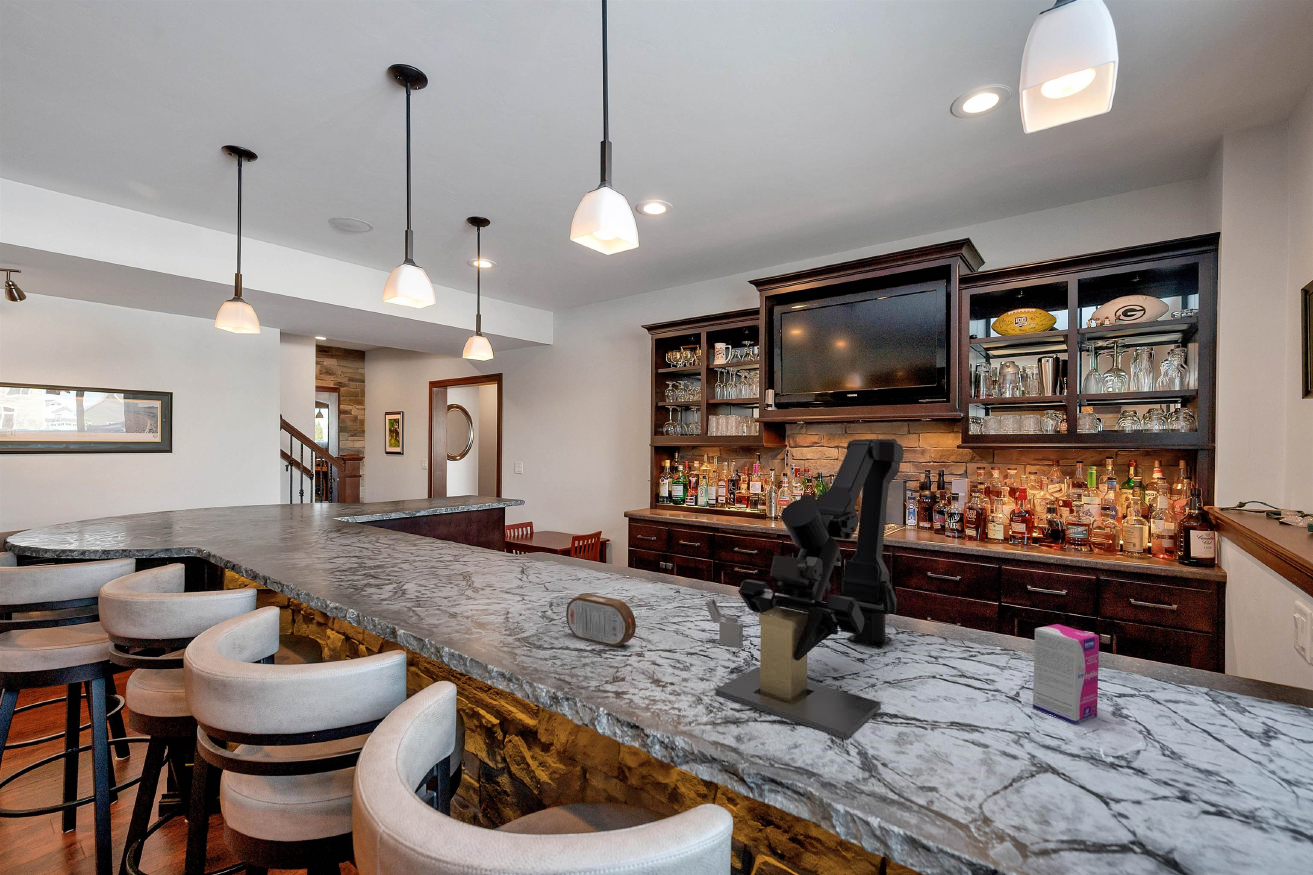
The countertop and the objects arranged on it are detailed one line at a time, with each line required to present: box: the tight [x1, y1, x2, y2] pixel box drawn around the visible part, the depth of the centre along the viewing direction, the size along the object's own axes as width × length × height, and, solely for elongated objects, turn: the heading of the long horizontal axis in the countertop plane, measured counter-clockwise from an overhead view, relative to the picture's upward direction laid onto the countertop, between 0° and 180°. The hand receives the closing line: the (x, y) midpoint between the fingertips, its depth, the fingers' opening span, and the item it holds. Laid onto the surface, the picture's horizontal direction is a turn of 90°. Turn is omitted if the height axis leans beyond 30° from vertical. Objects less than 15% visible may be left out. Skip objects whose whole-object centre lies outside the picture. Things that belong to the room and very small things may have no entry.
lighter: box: [704, 598, 744, 649], centre depth 109 cm, size 7×2×8 cm, turn 61°
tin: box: [565, 592, 637, 648], centre depth 110 cm, size 15×3×8 cm, turn 58°
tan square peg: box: [758, 607, 808, 706], centre depth 86 cm, size 5×5×12 cm
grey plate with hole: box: [715, 666, 882, 740], centre depth 84 cm, size 12×20×1 cm, turn 50°
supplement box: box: [1031, 623, 1100, 725], centre depth 82 cm, size 6×6×12 cm
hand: (779, 654), depth 85 cm, fingers closed on tan square peg, 5 cm apart
